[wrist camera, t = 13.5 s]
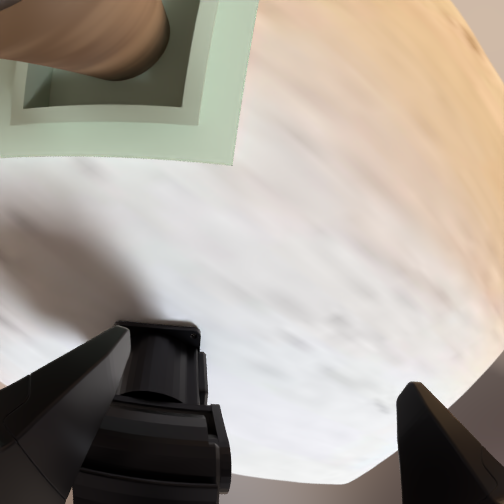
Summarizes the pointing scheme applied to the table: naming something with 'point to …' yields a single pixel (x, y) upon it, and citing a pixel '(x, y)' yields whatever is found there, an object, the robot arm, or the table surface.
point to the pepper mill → (85, 35)
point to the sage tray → (140, 96)
